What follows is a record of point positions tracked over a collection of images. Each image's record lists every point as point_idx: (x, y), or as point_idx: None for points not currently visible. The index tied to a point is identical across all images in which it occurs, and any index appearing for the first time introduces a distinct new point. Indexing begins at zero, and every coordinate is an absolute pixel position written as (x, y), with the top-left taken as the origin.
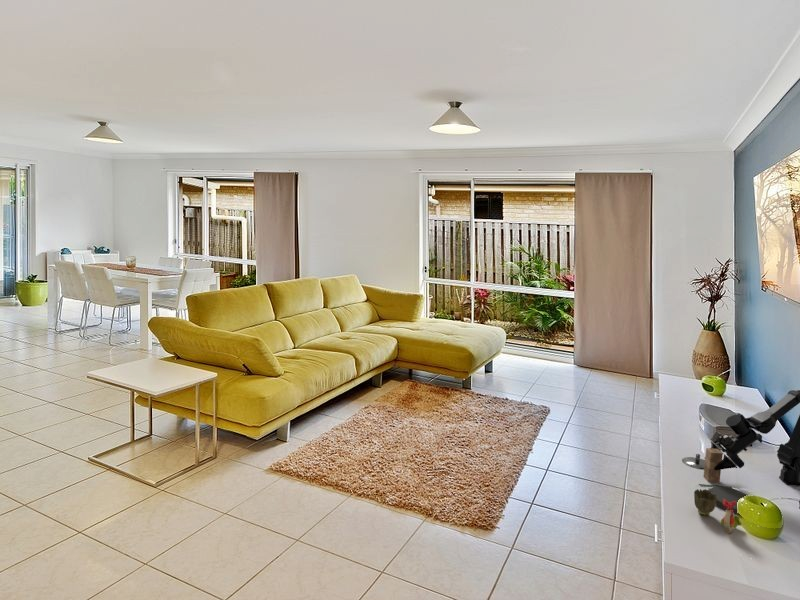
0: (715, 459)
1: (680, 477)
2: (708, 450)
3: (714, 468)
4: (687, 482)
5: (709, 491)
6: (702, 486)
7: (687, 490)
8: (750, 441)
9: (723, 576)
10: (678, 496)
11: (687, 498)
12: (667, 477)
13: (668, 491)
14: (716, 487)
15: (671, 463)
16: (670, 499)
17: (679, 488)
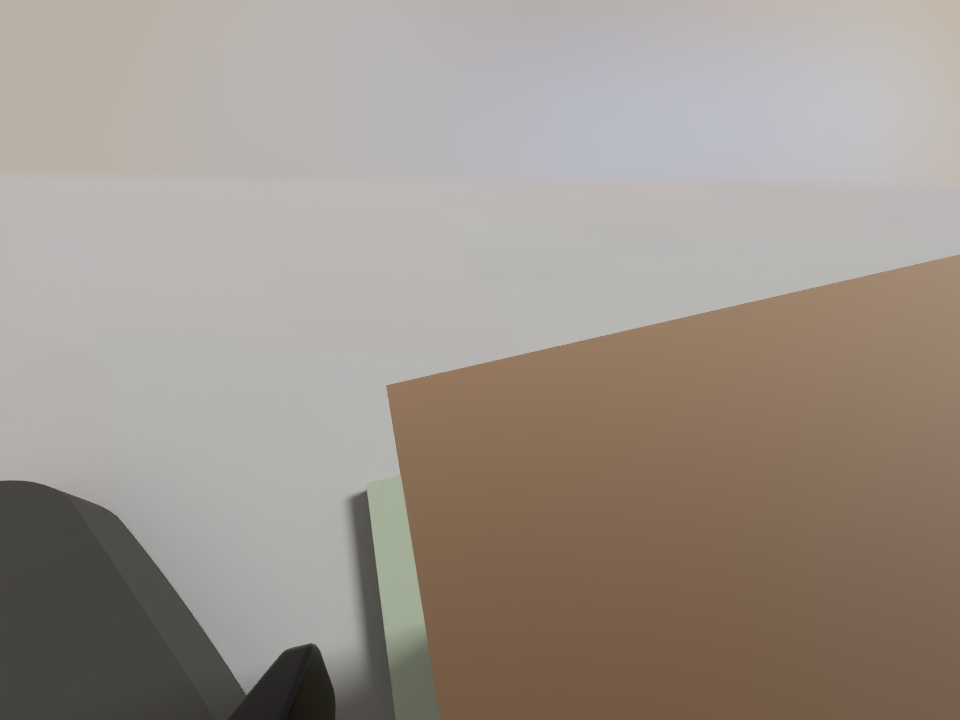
0: None
1: (547, 293)
2: (786, 304)
3: (282, 662)
4: (436, 352)
5: None
6: (372, 514)
7: (219, 335)
8: None
9: None
10: (70, 251)
11: (32, 321)
12: (484, 183)
13: (164, 183)
14: (166, 685)
15: (929, 228)
16: (7, 192)
17: (250, 268)
